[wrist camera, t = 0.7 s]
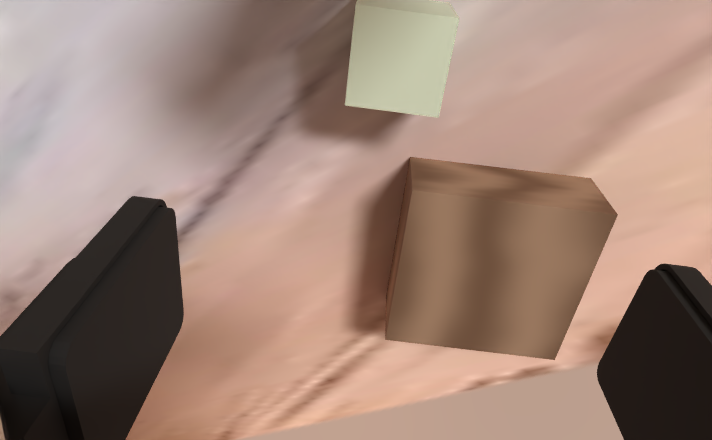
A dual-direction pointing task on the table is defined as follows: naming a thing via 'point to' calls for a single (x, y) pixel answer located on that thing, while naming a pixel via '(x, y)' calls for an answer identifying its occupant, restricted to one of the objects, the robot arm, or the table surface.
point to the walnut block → (493, 257)
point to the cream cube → (401, 55)
